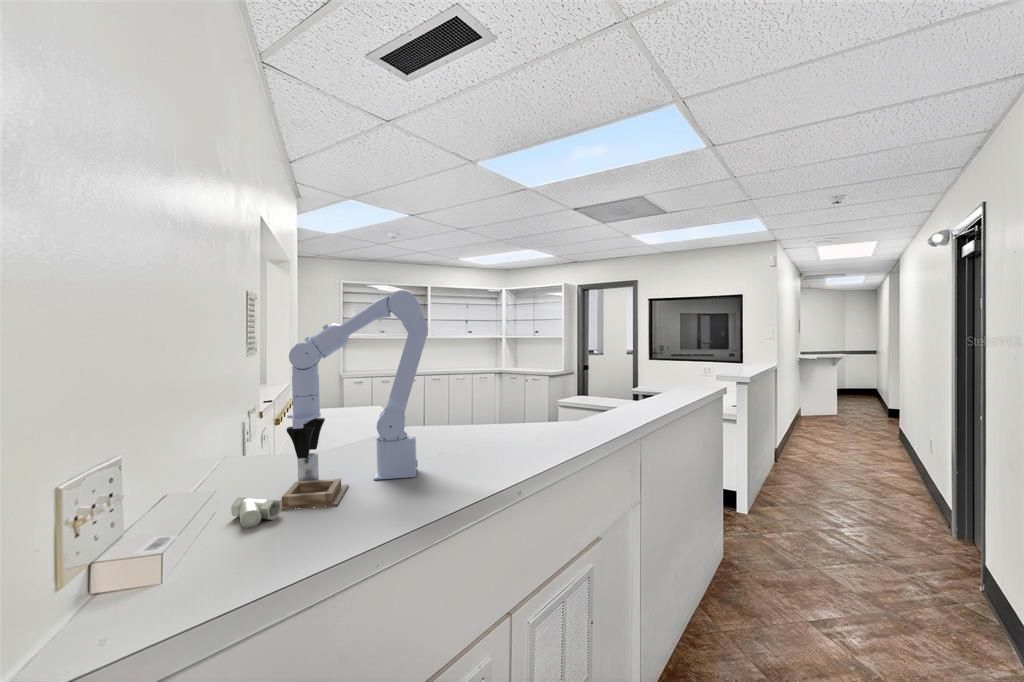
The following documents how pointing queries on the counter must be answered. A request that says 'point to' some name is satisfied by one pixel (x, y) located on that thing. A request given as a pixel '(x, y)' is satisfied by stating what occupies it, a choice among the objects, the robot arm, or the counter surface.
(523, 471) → the counter surface
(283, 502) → the cradle board
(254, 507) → the pipe fitting
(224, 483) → the counter surface
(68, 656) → the counter surface
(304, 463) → the silver metal cylinder
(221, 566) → the counter surface
